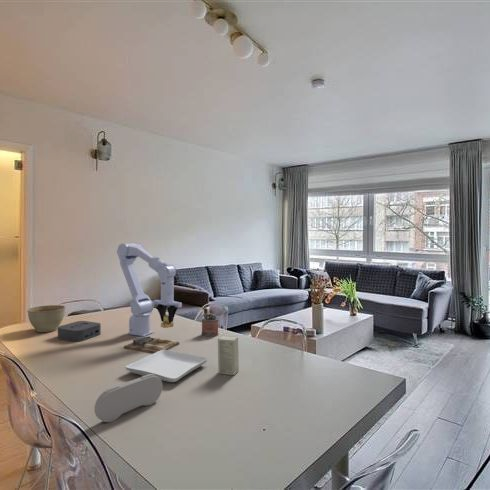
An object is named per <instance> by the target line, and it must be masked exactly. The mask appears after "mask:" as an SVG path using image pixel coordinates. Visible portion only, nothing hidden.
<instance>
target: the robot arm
mask: <svg viewBox="0 0 490 490" xmlns="http://www.w3.org/2000/svg"><path fill="white" fill-rule="evenodd" d="M116 253H117V255H118V260H119V264H120V267H121V270H122V274H123V276H124V278H125V280H126V283H127V285H128V286H127V287H128V289H129V292H130V294H131V297H132V298H131V300H130V301H129V306H130V312H131V315H130V317H129V319H128V321H129V322H128V331H129V332H127V334H128V335H134V336H139V337H142V336H144V337H147V336H148V335H151V334H152V333H153V334H154V333H155V330H151V314H152V312H153V310H154V307H155V306H156V307H155V308H156V310H157V312H158V314H159V317H160V321H161V323H162V322H163V315H169V322H170V323H171V322H173V323H174V320H175V319H174V318H175V316H176V312H177V310H178V309H179V308H182V307H183V303H182V302H180V301H176V300H174V297H175V296H174V295H175V294H174V293H175V291H174V289H175V287H174V286H175V285H174V284H175V278H174V277H175V276H176V275H177V269H176V267H175V266H174V265H173V264H168V263H167V262H165V261H163V259H161V256H153V255H151V254H150V253H149V252H148V251H147V250H145V249H144V248H143V246H142V245H140V243H137V242H134V243H131V242H130V243H124V242H122V243H120V244H119V245H118V247H117V250H116ZM138 258H140V259H142V260H143V261H145V262H146V263H148V267H149V268H150V269H152V270H153V271H154V272H155V273H157V275H158V277H159V282H160V299H154V300H151V298H150V296H149V295H148V294H146V293H144V290H143V287H142V285H141V281H140V279H139V277H138V274H137V271H136V269H135V266H134V262H135V261H136V260H137V259H138ZM167 313H168V314H167Z"/></svg>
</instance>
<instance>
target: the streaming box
mask: <svg viewBox="0 0 490 490" xmlns="http://www.w3.org/2000/svg"><path fill="white" fill-rule="evenodd" d="M101 325H102V324H101V323H100V322H94V321H88V320H78V321H74V322H70V323H66V324H63V325H59V326H58V329H57V339H59V340H64V341H70V342H83V341H86V340H89V339H91V338H95V337H97V336H101V334H102V333H101V331H102V330H101V327H102V326H101Z"/></svg>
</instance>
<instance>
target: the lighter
mask: <svg viewBox="0 0 490 490" xmlns="http://www.w3.org/2000/svg"><path fill="white" fill-rule="evenodd" d="M202 317H203V318H201V335H202V336H206V337H207V336H209V337H210V336H211V337H215V336H216V337H217V336H219V319H218V318H217V314H213V313H203V314H202Z"/></svg>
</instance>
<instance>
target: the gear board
mask: <svg viewBox="0 0 490 490" xmlns="http://www.w3.org/2000/svg"><path fill="white" fill-rule="evenodd" d="M178 345H180V342H179V341H177V340H173V339H166V338H160V337H158V338H155V337H151V336H150V335H149V336H148V335H147V336H139V337H135V338H134V339H132V342H130V343H128V344H125V345H124V346H123V348H124V349H129V350H135V351H138V352H139V351H141V352H146V353H150V354H153V353H156V352H158V351H160V350H170V349H172V348H174V347H176V346H178Z"/></svg>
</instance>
